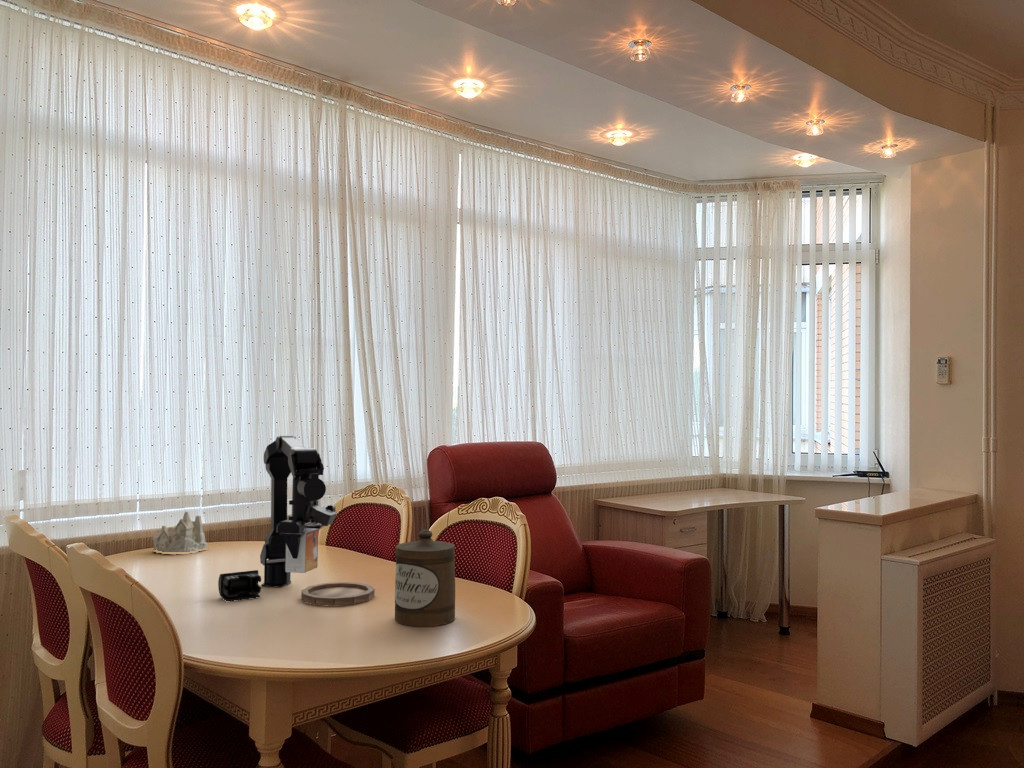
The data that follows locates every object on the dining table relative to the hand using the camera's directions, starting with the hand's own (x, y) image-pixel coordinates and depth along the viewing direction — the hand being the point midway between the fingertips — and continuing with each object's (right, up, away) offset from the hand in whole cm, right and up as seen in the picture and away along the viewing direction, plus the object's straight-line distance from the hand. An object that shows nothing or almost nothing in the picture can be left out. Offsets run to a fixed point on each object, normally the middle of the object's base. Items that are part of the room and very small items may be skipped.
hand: (302, 555), depth 215 cm
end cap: (-19, -13, +7) cm, 24 cm away
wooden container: (+34, -13, -14) cm, 39 cm away
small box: (0, -4, 0) cm, 4 cm away
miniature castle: (-62, -14, +73) cm, 97 cm away
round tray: (+8, -13, +8) cm, 17 cm away
